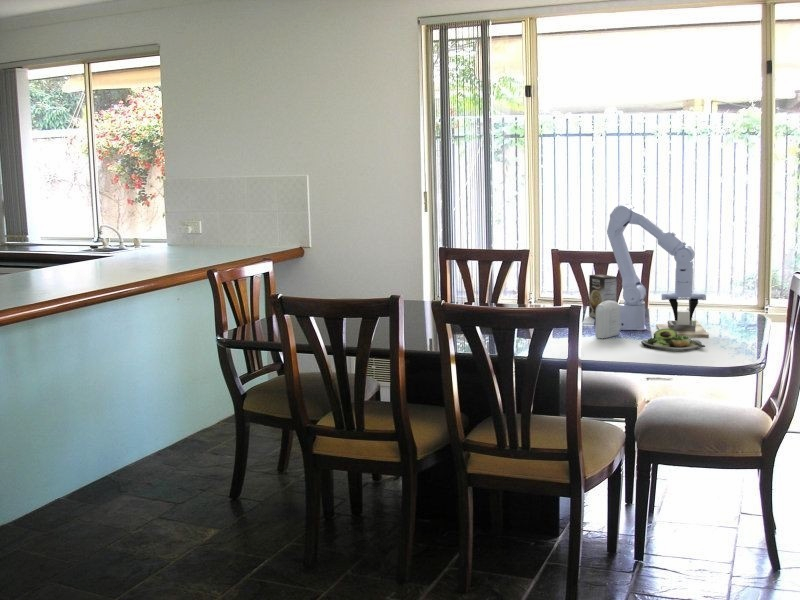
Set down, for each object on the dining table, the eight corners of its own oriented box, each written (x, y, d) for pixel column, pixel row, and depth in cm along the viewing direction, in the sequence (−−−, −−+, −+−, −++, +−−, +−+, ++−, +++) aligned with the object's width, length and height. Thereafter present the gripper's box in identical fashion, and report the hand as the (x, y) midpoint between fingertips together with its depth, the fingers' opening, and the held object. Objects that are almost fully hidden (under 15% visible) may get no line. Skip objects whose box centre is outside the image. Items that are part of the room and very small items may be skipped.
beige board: (662, 337, 294) (662, 328, 294) (652, 320, 323) (653, 312, 323) (708, 337, 291) (708, 328, 291) (695, 321, 320) (695, 313, 320)
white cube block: (677, 325, 301) (677, 311, 300) (675, 323, 305) (676, 309, 304) (689, 326, 300) (689, 311, 299) (687, 324, 304) (688, 309, 303)
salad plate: (719, 347, 277) (719, 333, 276) (685, 356, 267) (686, 341, 266) (667, 339, 292) (668, 325, 292) (634, 346, 282) (634, 332, 281)
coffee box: (588, 316, 336) (588, 274, 334) (601, 314, 339) (602, 273, 336) (603, 319, 328) (603, 277, 325) (616, 318, 330) (617, 276, 328)
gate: (692, 326, 305) (692, 315, 304) (686, 319, 318) (687, 308, 318) (696, 326, 305) (696, 315, 304) (690, 319, 318) (690, 308, 318)
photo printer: (610, 333, 302) (610, 298, 300) (621, 335, 299) (621, 299, 297) (593, 338, 295) (593, 302, 293) (604, 339, 292) (604, 303, 290)
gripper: (704, 279, 302) (703, 318, 304) (660, 279, 305) (660, 318, 307) (707, 282, 295) (706, 322, 297) (663, 282, 298) (662, 321, 300)
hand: (683, 320), depth 302 cm, fingers closed on white cube block, 4 cm apart
